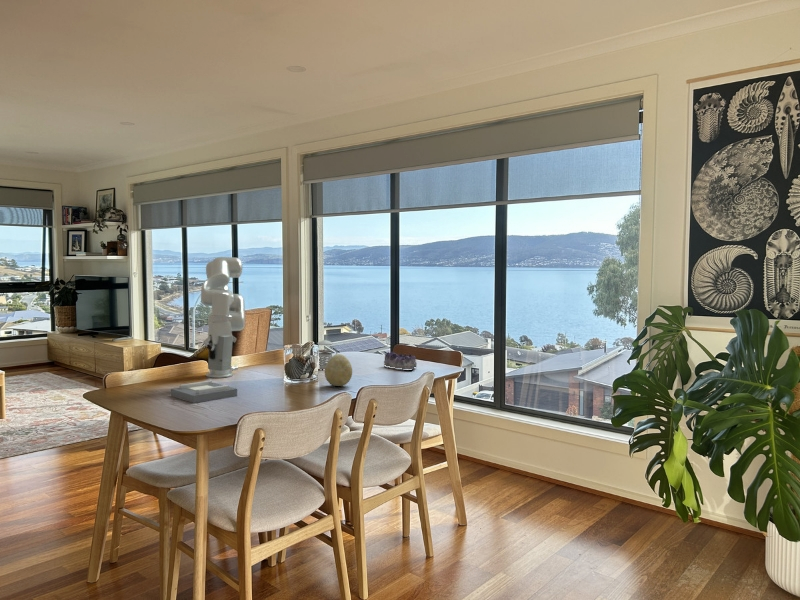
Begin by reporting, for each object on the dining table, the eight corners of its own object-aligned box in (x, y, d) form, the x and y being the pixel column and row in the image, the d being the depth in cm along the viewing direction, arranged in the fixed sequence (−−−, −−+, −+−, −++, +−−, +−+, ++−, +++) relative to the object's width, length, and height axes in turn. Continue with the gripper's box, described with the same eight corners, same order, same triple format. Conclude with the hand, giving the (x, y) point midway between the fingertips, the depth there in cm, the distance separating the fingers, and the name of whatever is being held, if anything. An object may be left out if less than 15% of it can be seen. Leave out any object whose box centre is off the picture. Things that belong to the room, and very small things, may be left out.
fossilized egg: (324, 383, 291) (325, 352, 290) (352, 384, 292) (352, 352, 291) (323, 389, 278) (324, 356, 277) (351, 389, 279) (352, 356, 278)
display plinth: (213, 389, 272) (213, 379, 271) (237, 395, 260) (237, 385, 260) (170, 395, 256) (170, 385, 256) (194, 403, 245) (194, 391, 244)
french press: (318, 366, 337) (318, 321, 336) (338, 367, 335) (339, 321, 334) (313, 369, 327) (313, 322, 326) (334, 370, 326) (335, 323, 324)
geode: (377, 368, 337) (378, 350, 338) (388, 368, 347) (389, 350, 348) (409, 371, 327) (410, 352, 328) (420, 371, 337) (421, 352, 337)
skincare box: (207, 369, 278) (207, 334, 276) (218, 366, 284) (218, 332, 283) (222, 371, 274) (222, 336, 273) (233, 368, 281) (233, 334, 279)
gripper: (232, 316, 286) (232, 354, 288) (198, 319, 273) (198, 358, 275) (241, 318, 281) (241, 356, 283) (207, 321, 268) (207, 361, 270)
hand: (220, 357), depth 279 cm, fingers closed on skincare box, 7 cm apart
